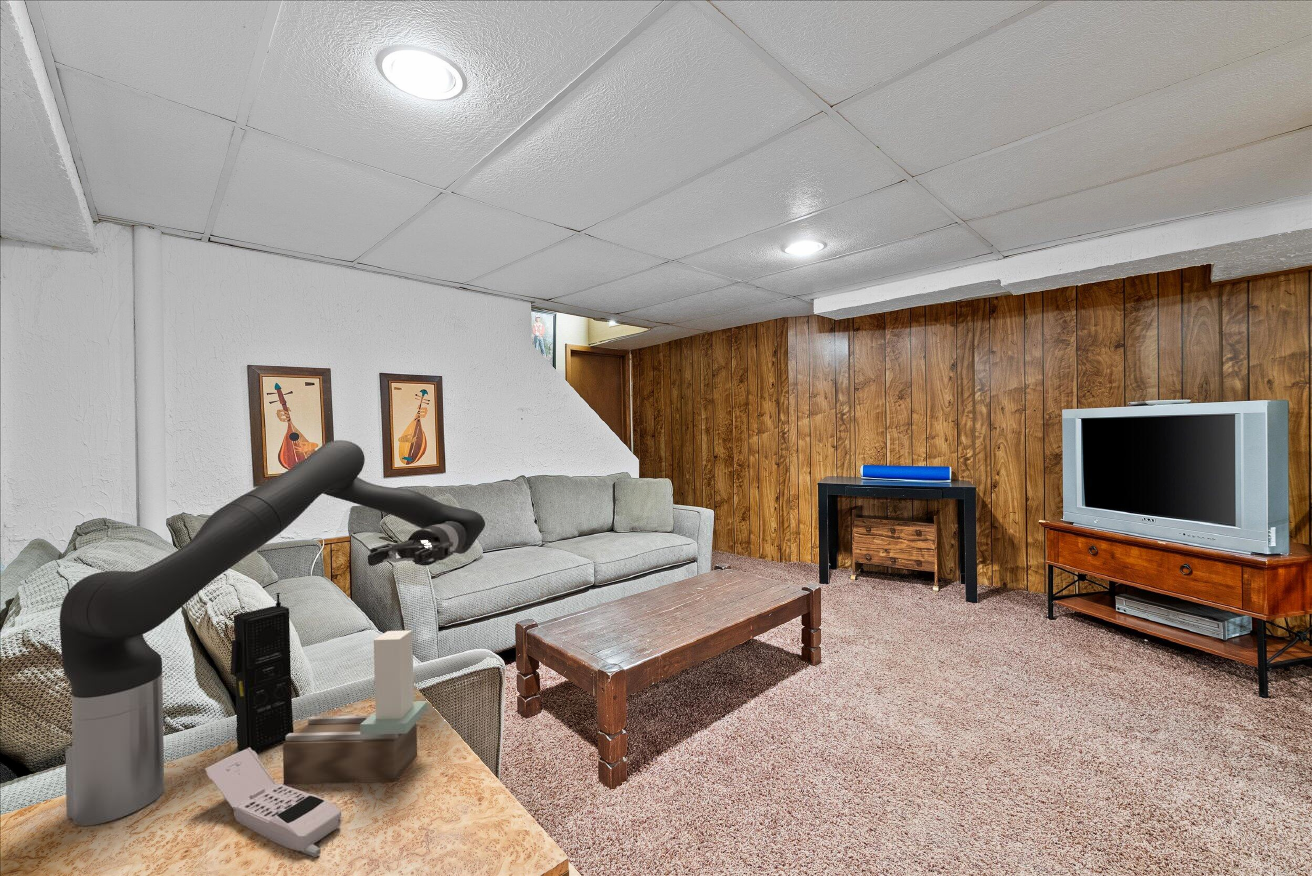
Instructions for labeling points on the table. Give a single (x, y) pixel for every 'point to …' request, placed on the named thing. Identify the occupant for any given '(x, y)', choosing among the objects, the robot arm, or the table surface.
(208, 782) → the table surface
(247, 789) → the mobile phone
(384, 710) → the white pillar on base
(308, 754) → the walnut track
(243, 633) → the portable radio
